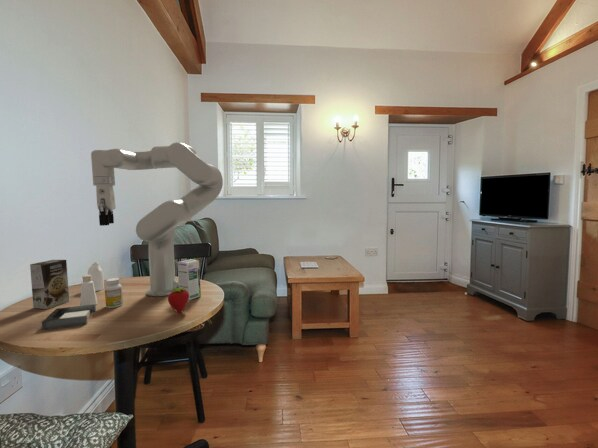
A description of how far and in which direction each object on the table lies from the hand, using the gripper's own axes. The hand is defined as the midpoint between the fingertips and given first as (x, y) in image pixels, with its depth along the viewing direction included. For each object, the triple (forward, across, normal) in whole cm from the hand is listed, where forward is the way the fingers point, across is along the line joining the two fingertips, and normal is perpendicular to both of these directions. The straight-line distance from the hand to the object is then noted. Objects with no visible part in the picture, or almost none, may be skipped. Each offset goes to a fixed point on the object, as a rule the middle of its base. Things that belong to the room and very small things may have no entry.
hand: (107, 224), depth 130 cm
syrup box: (+28, -20, -30) cm, 46 cm away
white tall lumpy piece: (+28, +8, +7) cm, 30 cm away
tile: (+29, -29, +6) cm, 41 cm away
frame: (+28, -29, +6) cm, 41 cm away
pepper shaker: (+28, -14, +5) cm, 32 cm away
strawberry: (+28, -36, -26) cm, 53 cm away
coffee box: (+28, -8, +18) cm, 35 cm away
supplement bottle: (+28, -19, -4) cm, 34 cm away
